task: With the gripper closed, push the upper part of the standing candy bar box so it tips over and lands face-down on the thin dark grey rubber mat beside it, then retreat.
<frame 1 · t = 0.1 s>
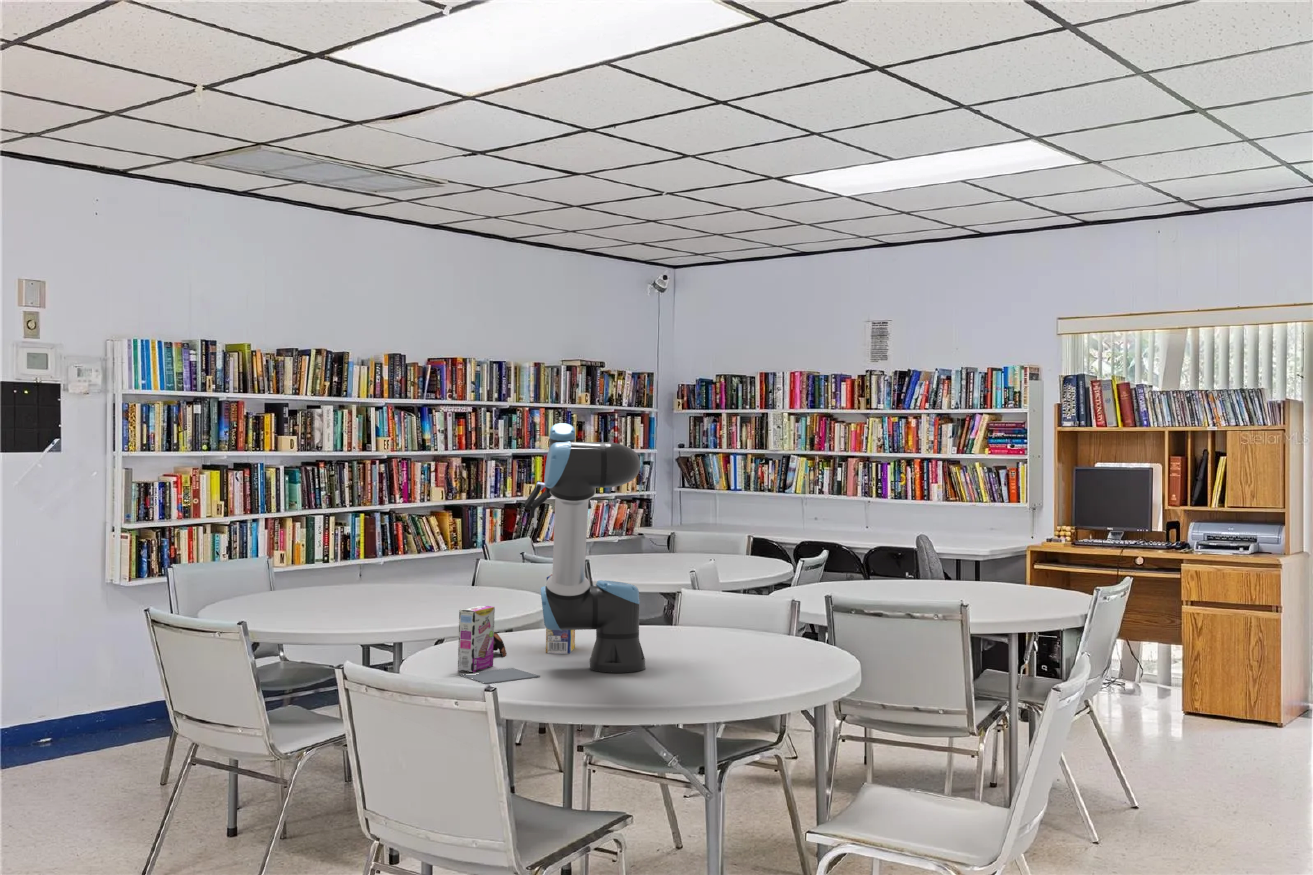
hand: (556, 525, 353), 36 cm above the table, tool tilted 35°, fingers open, 13 cm apart
candy bar box: (476, 669, 305), on the table
brown curved piece: (489, 656, 326), on the table
beverage box: (560, 651, 335), on the table
mat: (499, 676, 295), on the table
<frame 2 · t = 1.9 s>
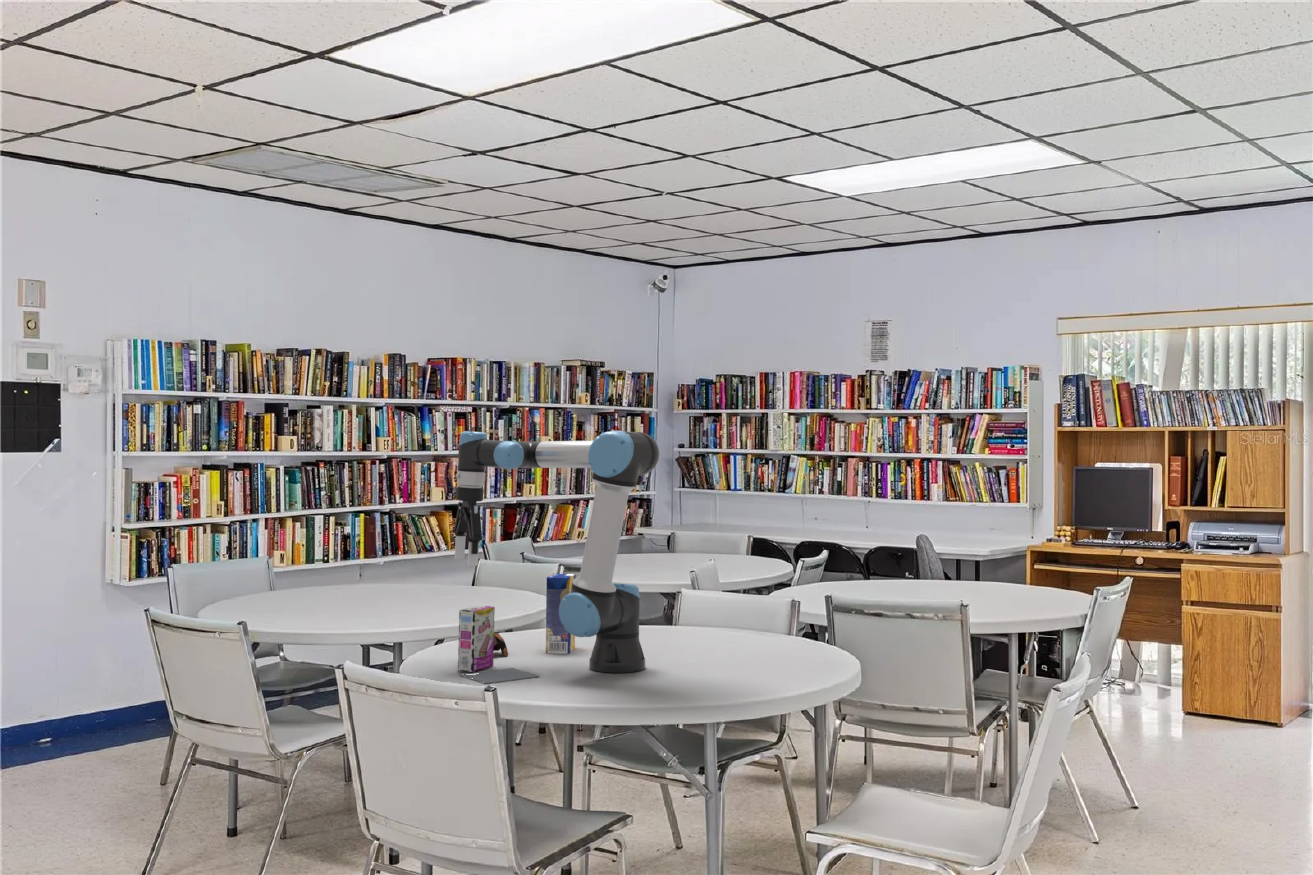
hand: (465, 562, 318), 27 cm above the table, tool pointing down, fingers open, 13 cm apart
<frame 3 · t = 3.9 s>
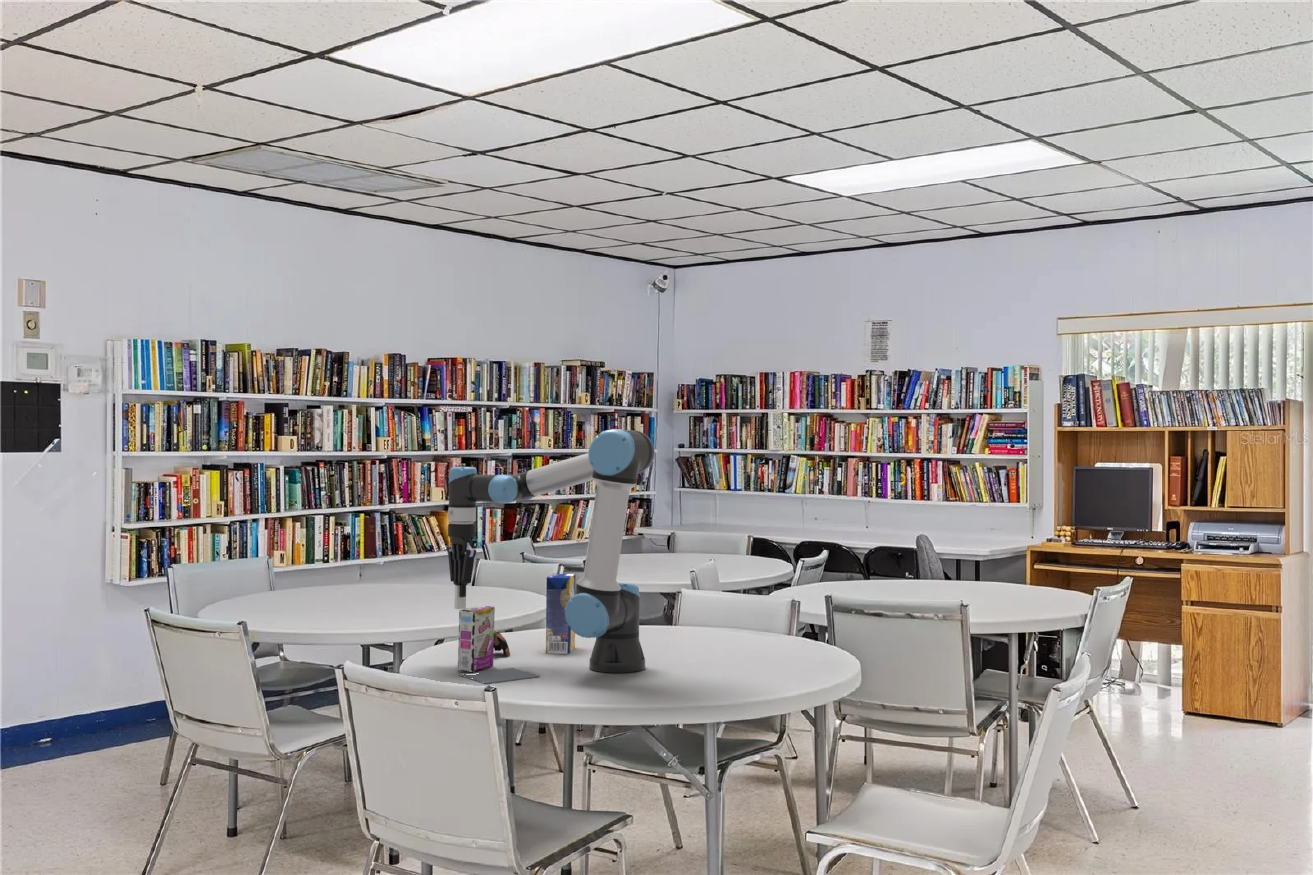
hand: (460, 608, 312), 15 cm above the table, tool pointing down, fingers closed
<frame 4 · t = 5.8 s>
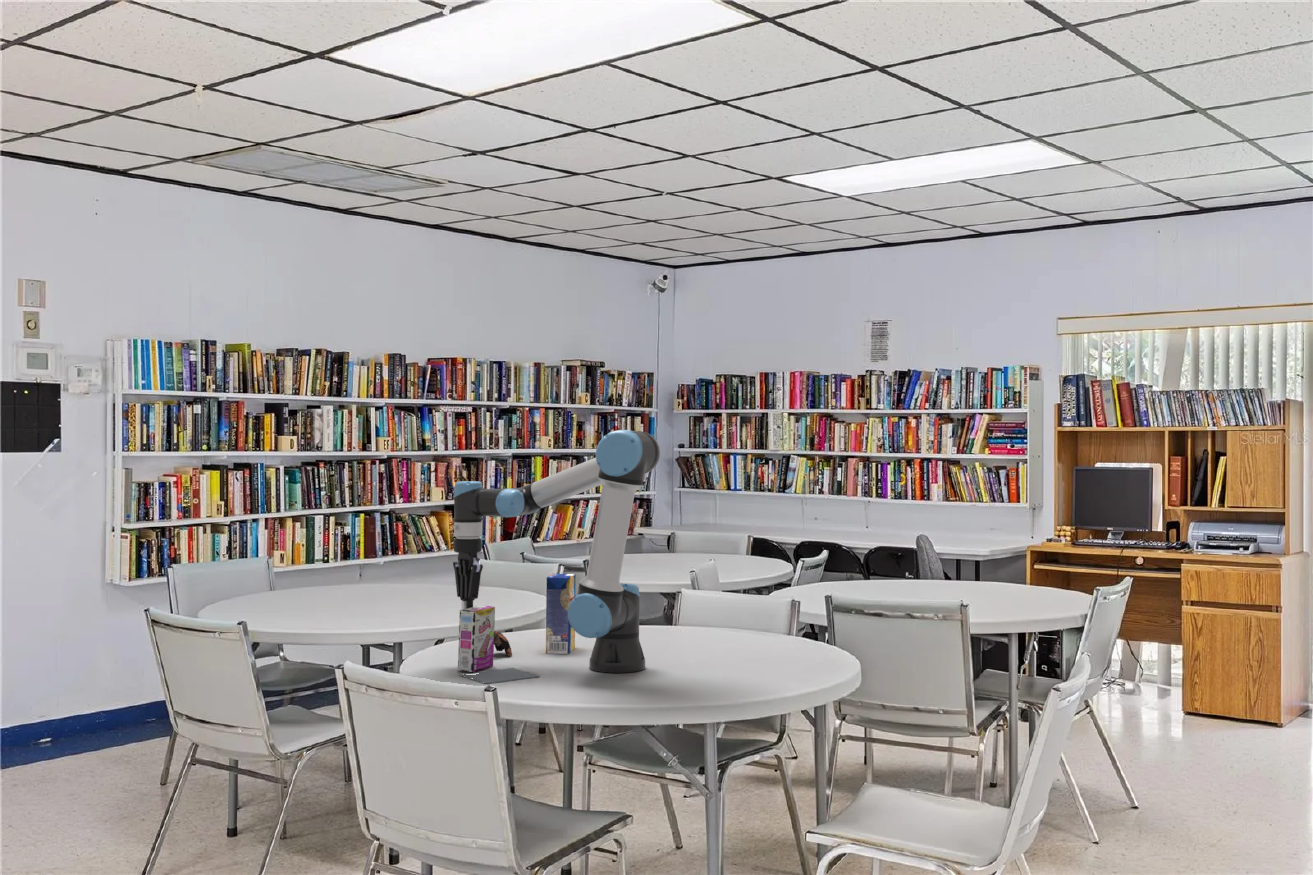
hand: (467, 624, 309), 11 cm above the table, tool pointing down, fingers closed
candy bar box: (476, 669, 305), on the table, touching gripper
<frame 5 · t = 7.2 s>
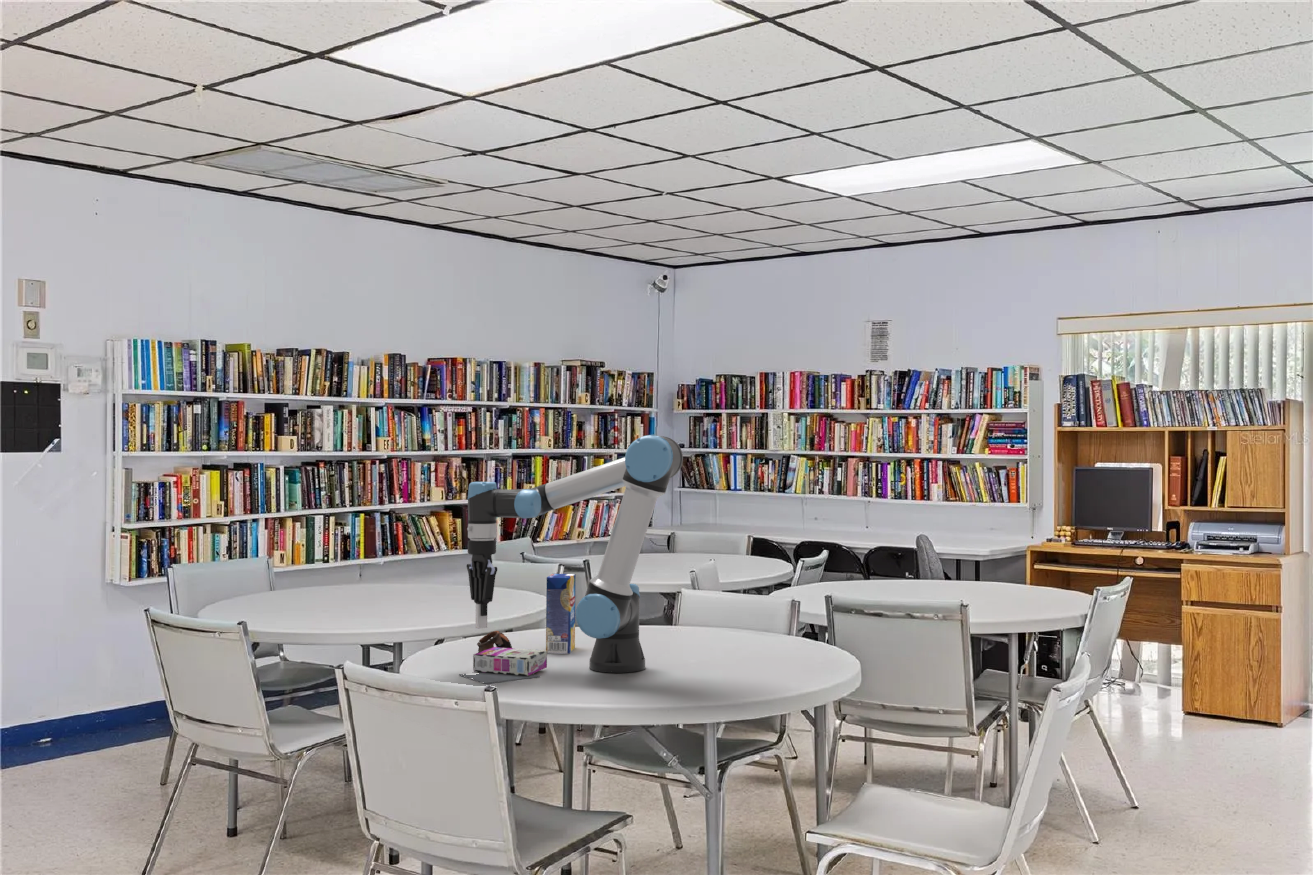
hand: (481, 627, 303), 11 cm above the table, tool pointing down, fingers closed
candy bar box: (482, 659, 304), point 3 cm above the table, touching mat
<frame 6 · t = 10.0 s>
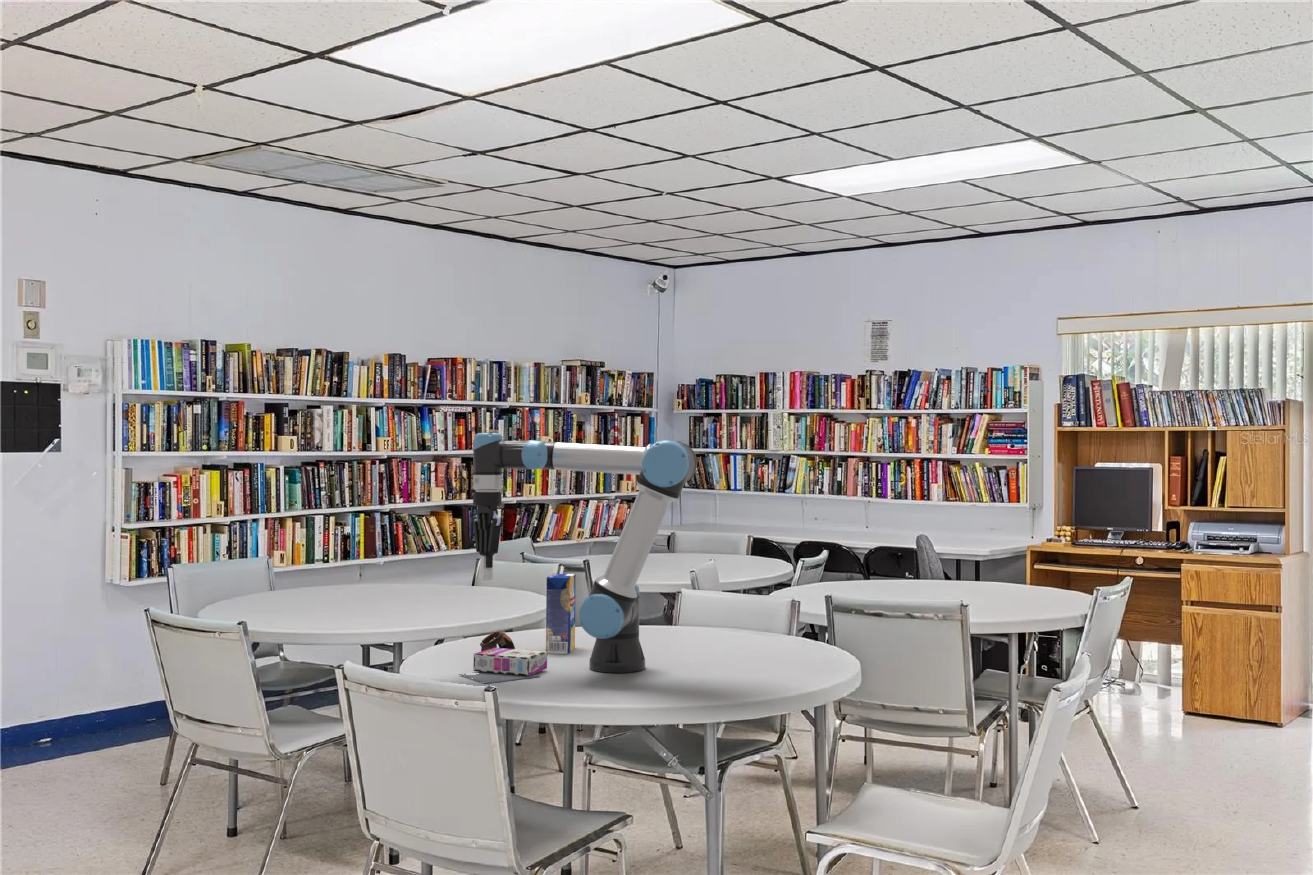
hand: (486, 579, 301), 24 cm above the table, tool pointing down, fingers closed
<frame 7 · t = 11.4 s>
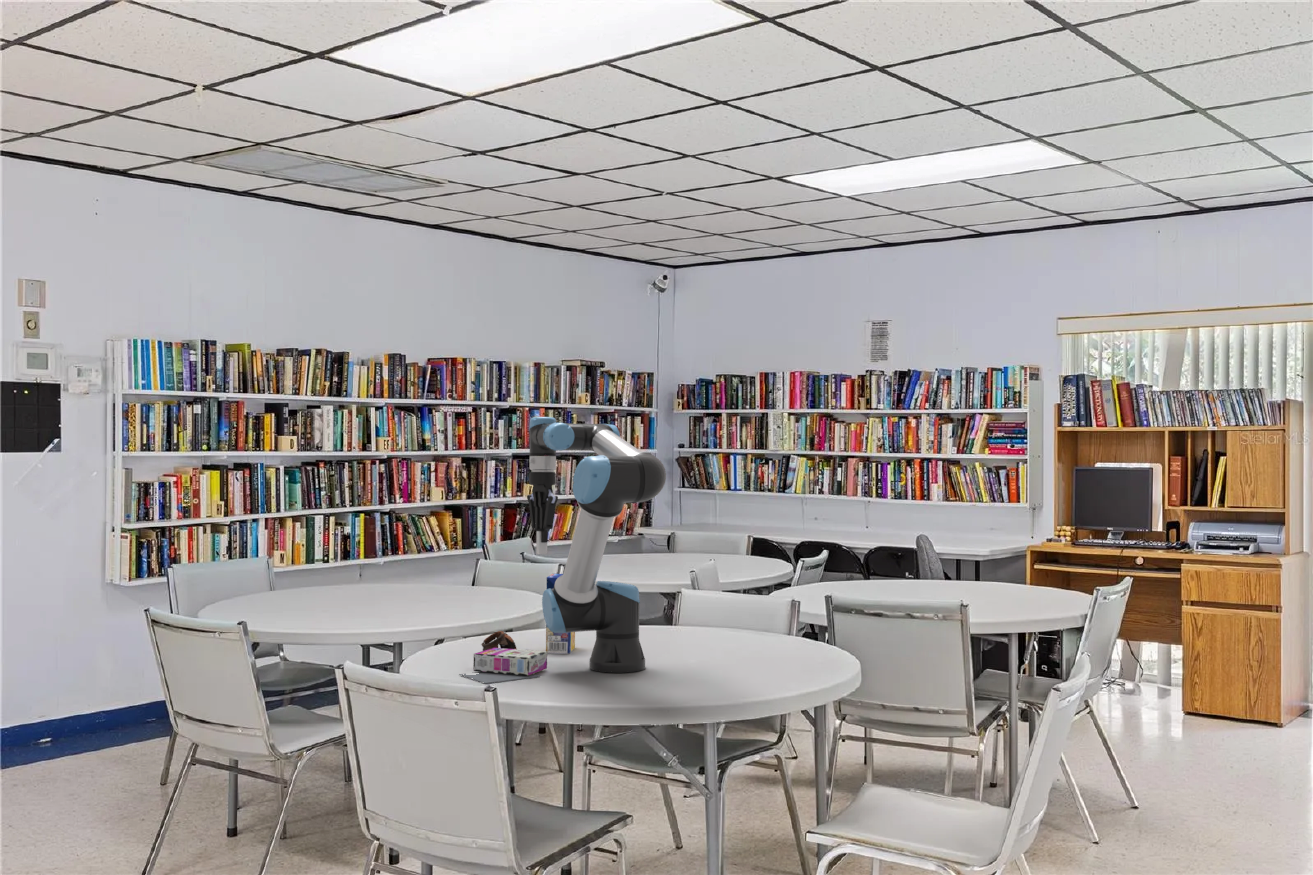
hand: (541, 553, 323), 29 cm above the table, tool pointing down, fingers closed
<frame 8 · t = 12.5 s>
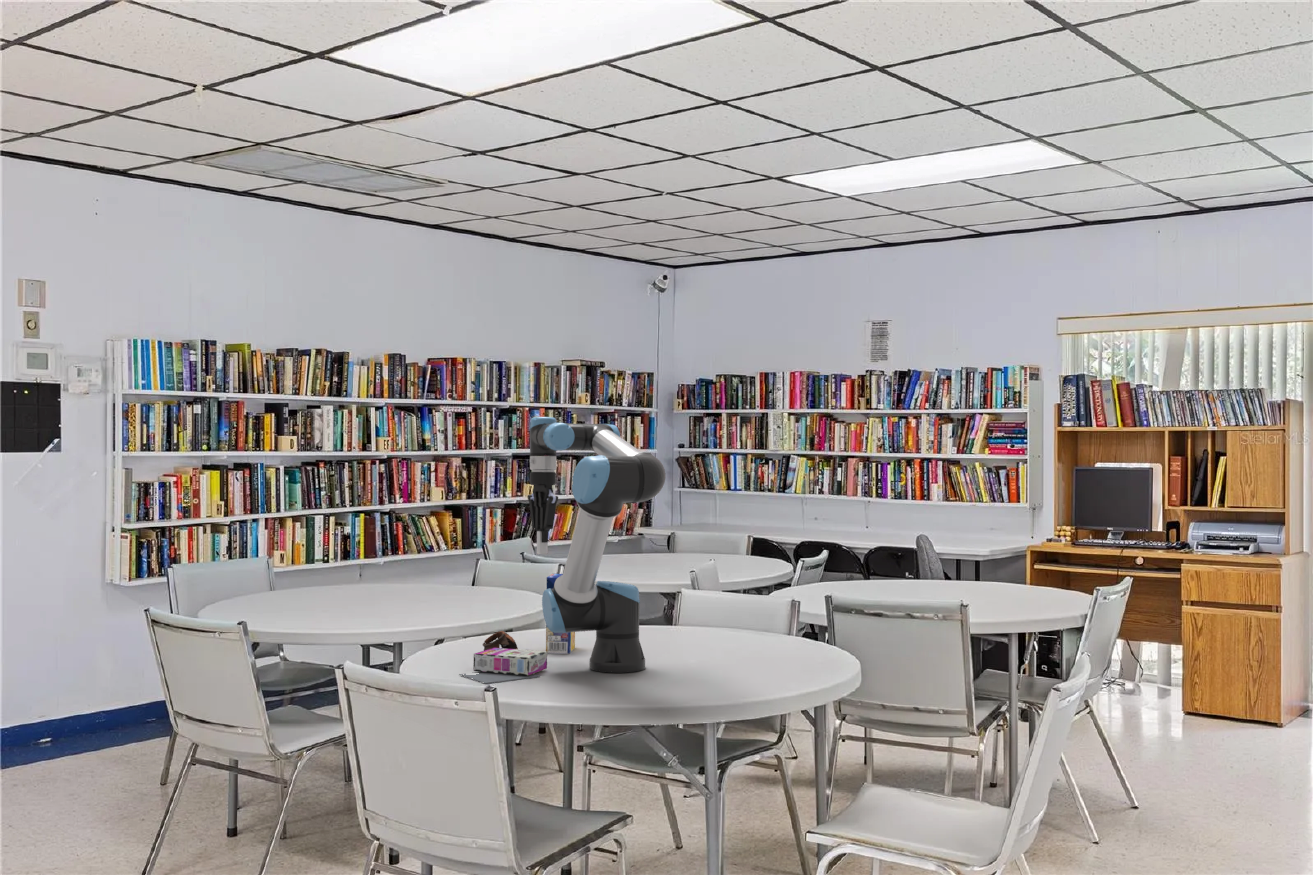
hand: (542, 553, 323), 29 cm above the table, tool pointing down, fingers closed
at the end: candy bar box tilted 89°; candy bar box inside the target area (10.6 cm from its centre), point 2.6 cm above the table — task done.
